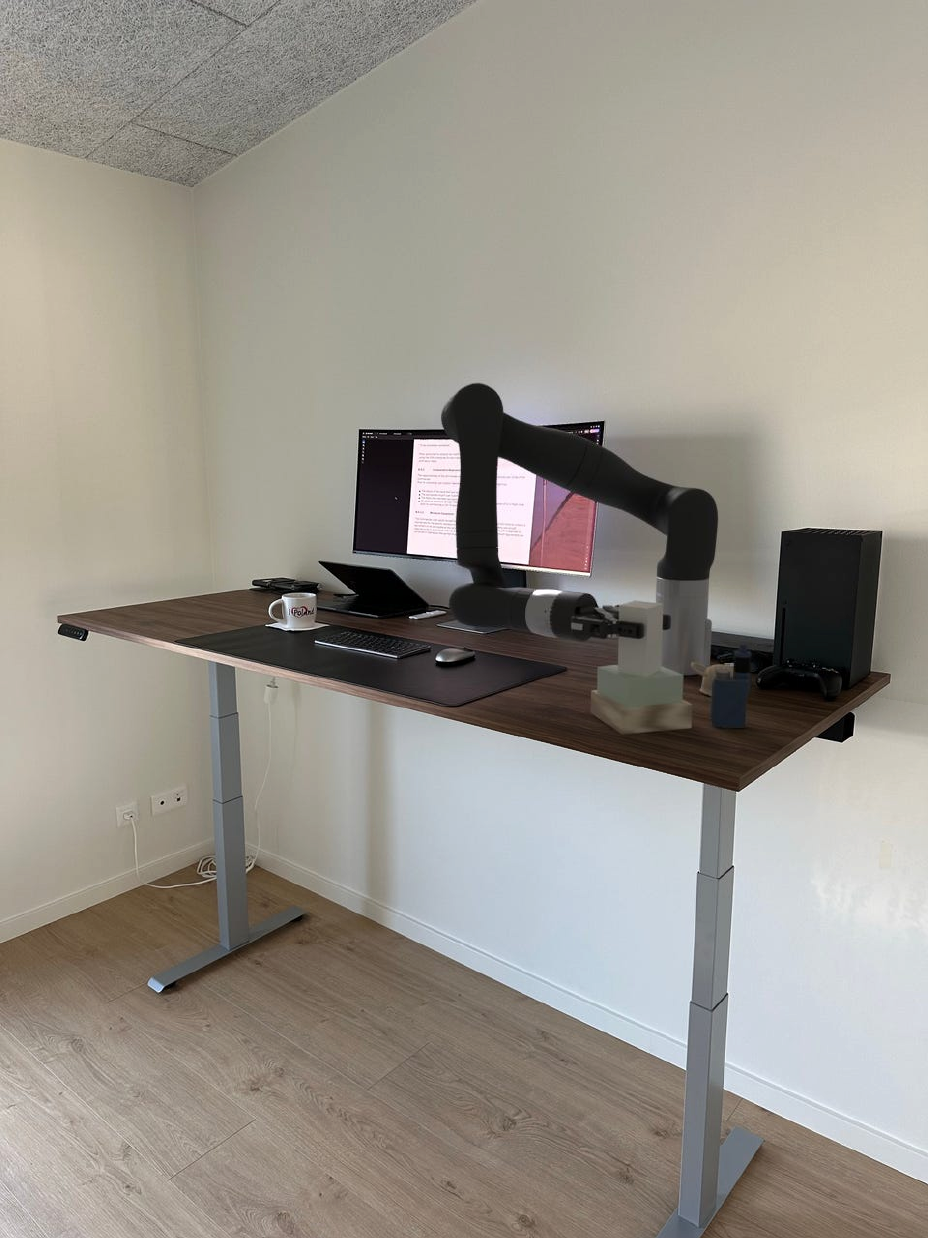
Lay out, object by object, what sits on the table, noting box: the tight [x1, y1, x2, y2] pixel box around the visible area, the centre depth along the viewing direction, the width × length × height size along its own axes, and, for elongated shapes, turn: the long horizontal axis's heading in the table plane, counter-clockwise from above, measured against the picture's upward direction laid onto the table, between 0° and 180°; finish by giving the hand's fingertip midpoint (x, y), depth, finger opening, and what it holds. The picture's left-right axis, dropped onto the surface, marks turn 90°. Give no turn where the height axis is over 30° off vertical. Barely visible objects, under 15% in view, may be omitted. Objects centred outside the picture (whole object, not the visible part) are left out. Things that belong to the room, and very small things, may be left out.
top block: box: [596, 664, 684, 708], centre depth 126 cm, size 9×9×4 cm
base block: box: [590, 689, 694, 735], centre depth 126 cm, size 11×11×4 cm
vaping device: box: [709, 644, 752, 729], centre depth 122 cm, size 3×5×12 cm, turn 79°
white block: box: [617, 600, 663, 677], centre depth 124 cm, size 5×5×10 cm
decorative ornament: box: [691, 662, 733, 697], centre depth 140 cm, size 4×8×5 cm, turn 72°
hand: (656, 627), depth 122 cm, fingers open, 8 cm apart
